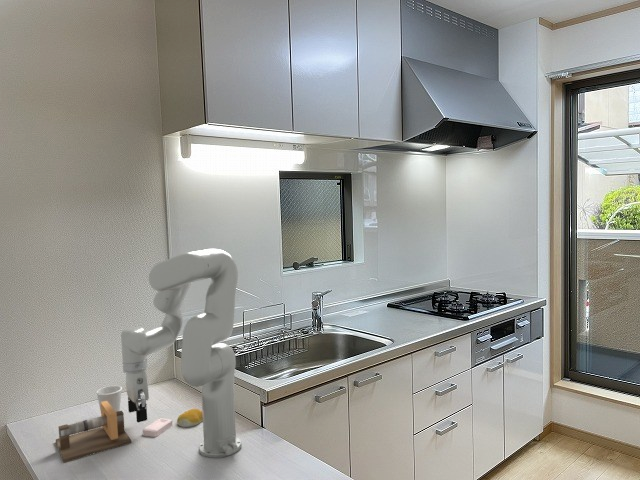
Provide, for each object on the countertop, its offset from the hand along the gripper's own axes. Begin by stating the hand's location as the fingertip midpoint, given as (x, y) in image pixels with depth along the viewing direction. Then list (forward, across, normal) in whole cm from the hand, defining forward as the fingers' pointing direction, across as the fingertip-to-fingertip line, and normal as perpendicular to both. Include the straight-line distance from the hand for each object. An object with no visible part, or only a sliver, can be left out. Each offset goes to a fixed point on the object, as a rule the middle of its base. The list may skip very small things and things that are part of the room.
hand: (137, 416), depth 164 cm
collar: (+3, 0, +9) cm, 9 cm away
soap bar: (+5, -4, -5) cm, 8 cm away
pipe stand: (+5, 0, +14) cm, 15 cm away
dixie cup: (+5, +17, +5) cm, 18 cm away
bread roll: (+5, -5, -16) cm, 18 cm away
